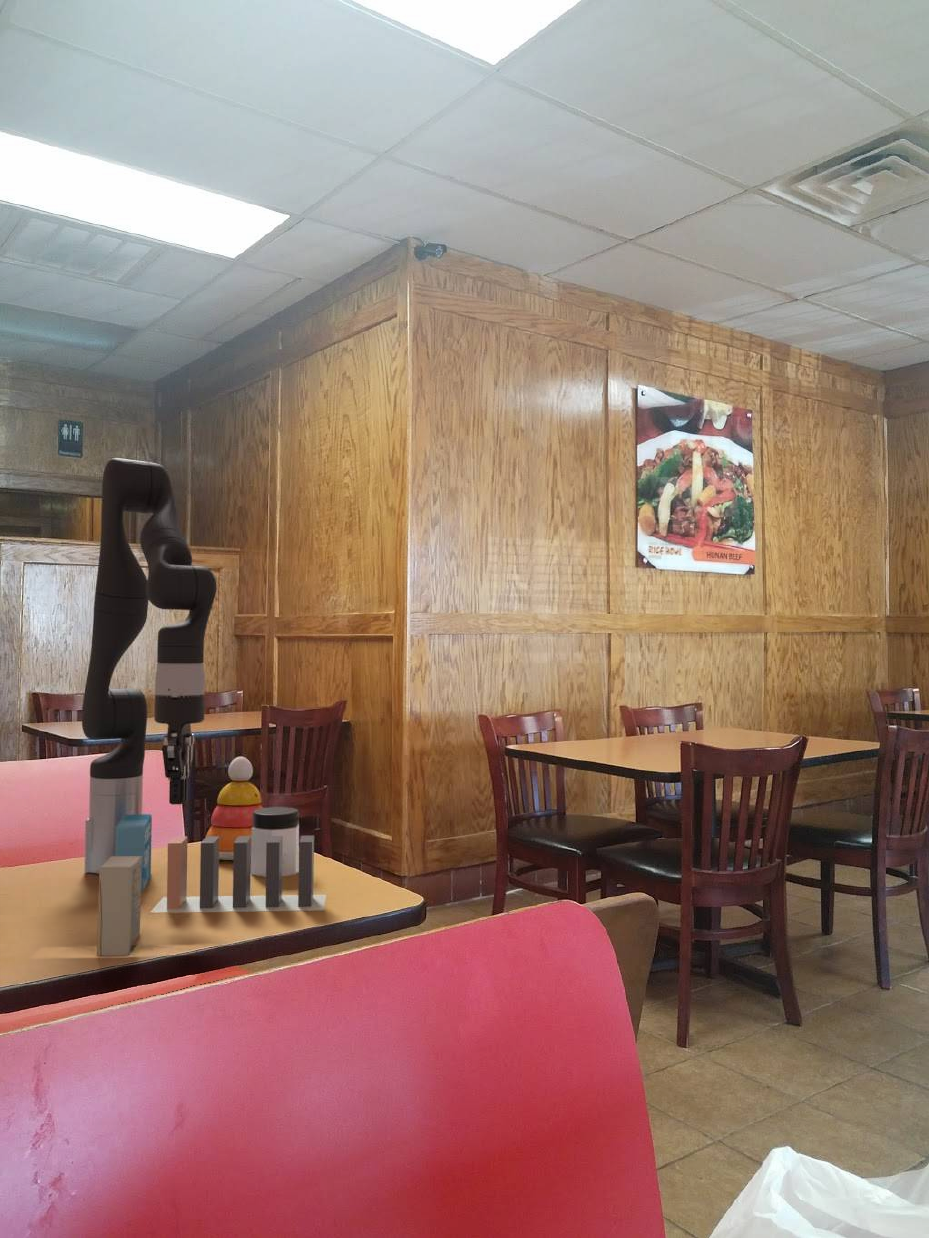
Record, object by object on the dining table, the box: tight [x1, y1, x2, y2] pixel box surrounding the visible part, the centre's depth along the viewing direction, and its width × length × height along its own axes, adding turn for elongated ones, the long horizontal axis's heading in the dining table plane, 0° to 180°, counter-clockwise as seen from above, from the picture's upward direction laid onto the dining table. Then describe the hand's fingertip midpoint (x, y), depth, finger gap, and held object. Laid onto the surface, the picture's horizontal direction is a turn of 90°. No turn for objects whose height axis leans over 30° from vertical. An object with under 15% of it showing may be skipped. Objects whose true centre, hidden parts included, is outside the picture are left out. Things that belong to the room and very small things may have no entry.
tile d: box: [265, 836, 283, 907], centre depth 152 cm, size 2×5×10 cm, turn 5°
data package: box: [115, 813, 153, 892], centre depth 163 cm, size 12×4×12 cm, turn 13°
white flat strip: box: [149, 894, 327, 914], centre depth 151 cm, size 26×9×1 cm, turn 95°
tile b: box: [199, 836, 220, 908], centre depth 151 cm, size 2×5×10 cm, turn 5°
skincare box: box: [96, 856, 142, 957], centre depth 132 cm, size 6×4×12 cm
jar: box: [250, 806, 300, 878], centre depth 172 cm, size 9×8×12 cm
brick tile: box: [166, 836, 188, 909], centre depth 150 cm, size 2×5×10 cm, turn 5°
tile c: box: [232, 836, 251, 908], centre depth 151 cm, size 2×5×10 cm, turn 5°
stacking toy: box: [205, 756, 264, 861], centre depth 190 cm, size 14×14×20 cm
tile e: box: [297, 835, 315, 907], centre depth 152 cm, size 2×5×10 cm, turn 5°
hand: (178, 802), depth 151 cm, fingers closed
